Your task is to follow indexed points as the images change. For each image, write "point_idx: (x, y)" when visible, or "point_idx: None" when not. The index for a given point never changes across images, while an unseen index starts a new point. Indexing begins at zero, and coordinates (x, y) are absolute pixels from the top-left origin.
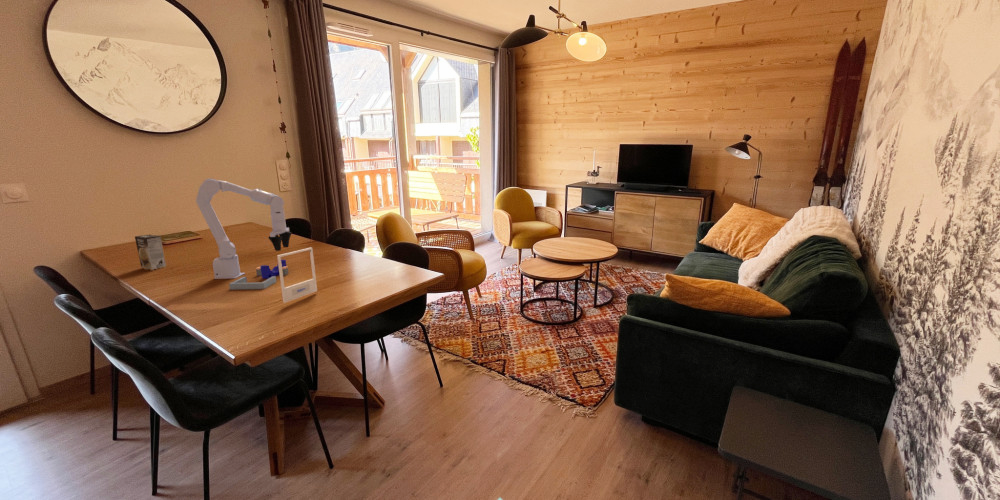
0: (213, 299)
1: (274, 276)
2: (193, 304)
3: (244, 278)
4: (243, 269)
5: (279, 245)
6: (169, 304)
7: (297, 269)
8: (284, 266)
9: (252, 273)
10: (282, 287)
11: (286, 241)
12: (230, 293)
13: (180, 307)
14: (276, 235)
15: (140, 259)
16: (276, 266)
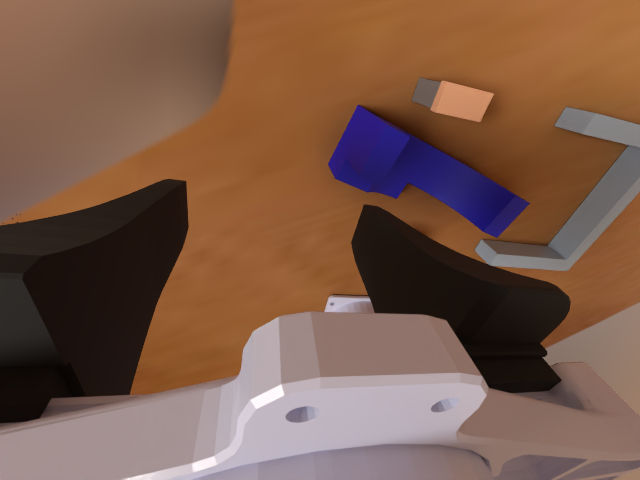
0: (628, 257)
1: (594, 120)
2: (631, 282)
3: (508, 253)
4: (253, 324)
5: (418, 235)
6: (580, 326)
7: (316, 32)
8: (446, 109)
9: (336, 270)
10: None
11: (157, 230)
12: (601, 237)
13: (630, 297)
14: (528, 375)
15: None
16: (361, 180)
